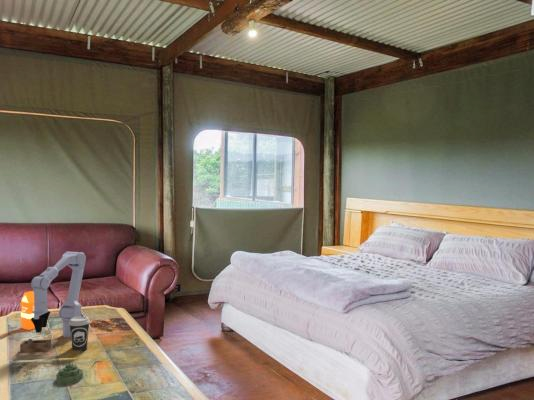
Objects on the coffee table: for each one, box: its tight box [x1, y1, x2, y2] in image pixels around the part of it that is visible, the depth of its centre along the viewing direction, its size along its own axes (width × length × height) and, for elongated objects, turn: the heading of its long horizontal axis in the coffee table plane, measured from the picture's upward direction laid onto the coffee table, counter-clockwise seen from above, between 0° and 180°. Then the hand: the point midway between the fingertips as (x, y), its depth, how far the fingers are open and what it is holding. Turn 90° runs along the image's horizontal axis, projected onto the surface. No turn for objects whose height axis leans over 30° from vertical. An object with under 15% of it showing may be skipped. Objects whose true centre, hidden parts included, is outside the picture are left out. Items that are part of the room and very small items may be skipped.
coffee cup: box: [69, 315, 91, 353], centre depth 226 cm, size 10×10×15 cm
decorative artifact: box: [55, 361, 84, 385], centre depth 193 cm, size 10×7×10 cm
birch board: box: [16, 339, 59, 357], centre depth 226 cm, size 13×20×1 cm, turn 9°
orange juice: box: [20, 290, 35, 330], centre depth 261 cm, size 8×9×20 cm
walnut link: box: [19, 338, 52, 353], centre depth 222 cm, size 12×6×4 cm, turn 99°
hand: (41, 329), depth 225 cm, fingers open, 7 cm apart
